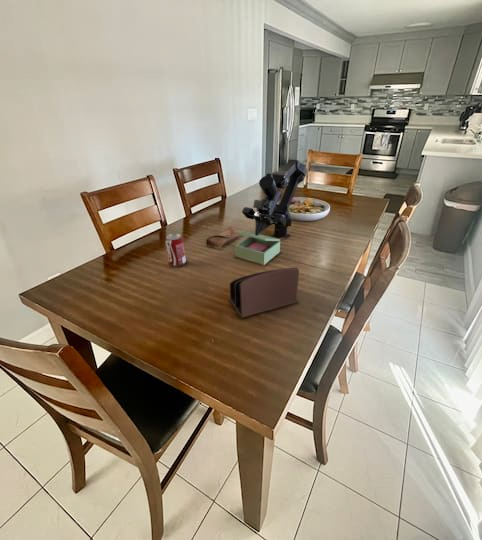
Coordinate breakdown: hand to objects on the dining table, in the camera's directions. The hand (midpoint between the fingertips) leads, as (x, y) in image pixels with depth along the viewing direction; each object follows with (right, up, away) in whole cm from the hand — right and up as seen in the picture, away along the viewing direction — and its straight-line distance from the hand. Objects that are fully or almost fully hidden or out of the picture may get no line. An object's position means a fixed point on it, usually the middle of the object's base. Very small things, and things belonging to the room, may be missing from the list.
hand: (256, 235), depth 119 cm
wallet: (+2, -7, +7) cm, 10 cm away
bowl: (+28, +18, +50) cm, 60 cm away
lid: (+1, -1, +2) cm, 2 cm away
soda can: (-32, -12, +1) cm, 34 cm away
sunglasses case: (-14, -1, +19) cm, 24 cm away
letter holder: (+2, -25, -22) cm, 33 cm away
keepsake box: (+1, -8, +6) cm, 10 cm away
